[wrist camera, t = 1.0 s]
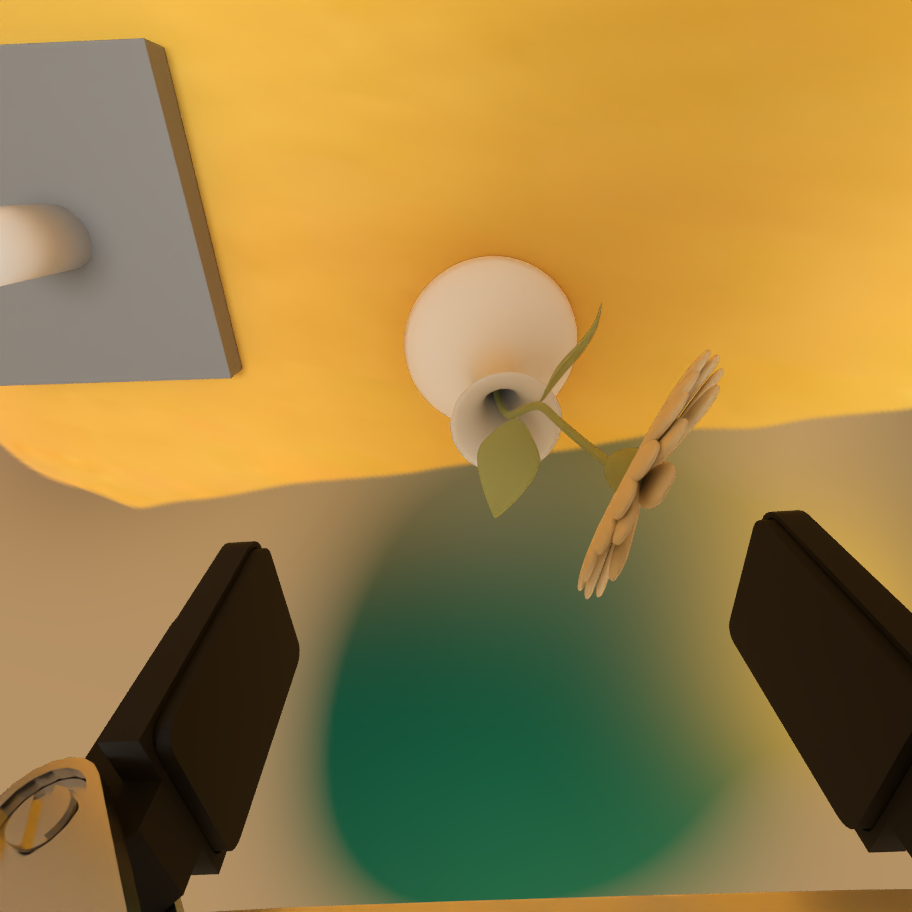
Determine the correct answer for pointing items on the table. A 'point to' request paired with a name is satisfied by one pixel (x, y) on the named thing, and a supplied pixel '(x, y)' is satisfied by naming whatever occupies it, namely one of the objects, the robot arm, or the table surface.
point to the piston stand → (102, 223)
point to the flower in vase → (534, 393)
